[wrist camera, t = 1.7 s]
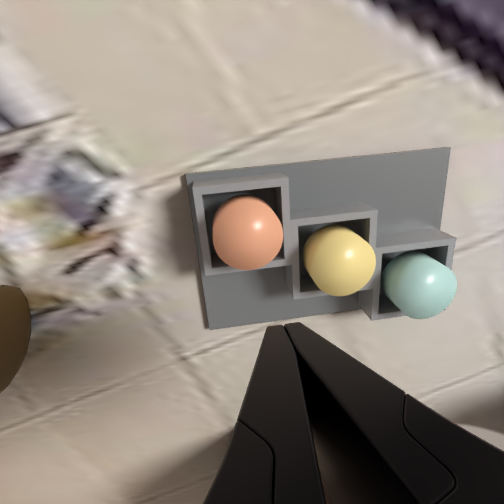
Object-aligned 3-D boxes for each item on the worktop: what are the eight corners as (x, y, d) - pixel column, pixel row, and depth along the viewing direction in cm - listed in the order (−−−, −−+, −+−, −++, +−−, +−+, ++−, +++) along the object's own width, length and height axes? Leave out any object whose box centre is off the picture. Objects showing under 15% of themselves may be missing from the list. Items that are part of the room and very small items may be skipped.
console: (446, 147, 20) (476, 150, 17) (427, 296, 23) (450, 314, 21) (186, 173, 18) (182, 180, 16) (209, 326, 22) (209, 349, 20)
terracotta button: (273, 191, 17) (281, 199, 16) (277, 251, 19) (284, 265, 17) (208, 198, 17) (208, 207, 15) (216, 259, 18) (217, 274, 16)
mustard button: (360, 221, 19) (377, 232, 17) (358, 276, 20) (374, 291, 18) (301, 228, 18) (311, 240, 16) (302, 283, 20) (312, 300, 18)
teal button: (437, 247, 20) (461, 260, 18) (430, 297, 21) (452, 314, 19) (382, 254, 19) (400, 268, 18) (379, 305, 21) (396, 322, 19)
